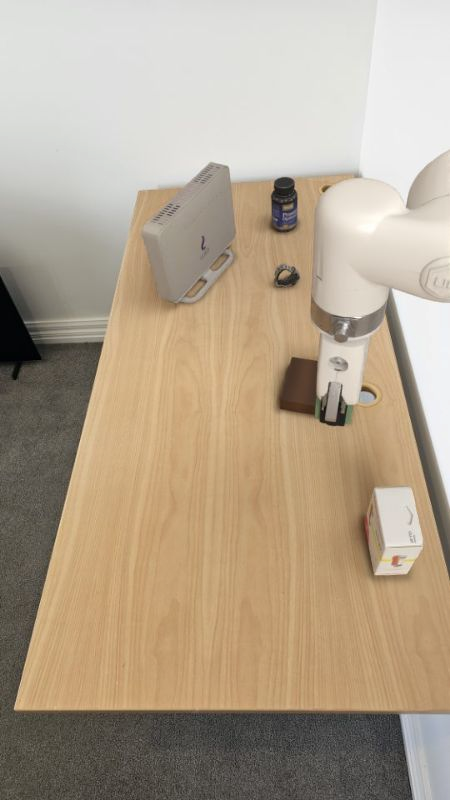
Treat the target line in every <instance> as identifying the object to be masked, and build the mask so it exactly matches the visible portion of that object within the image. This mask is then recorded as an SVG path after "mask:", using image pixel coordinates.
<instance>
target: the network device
mask: <svg viewBox="0 0 450 800" xmlns="http://www.w3.org/2000/svg"><path fill="white" fill-rule="evenodd" d="M230 170H231V169H230V167H229V166H228V165H226V164H221V163H217V162H214V161H213V162H212V161H210V162H209V163H208V164H206V165H205V167H203V168H202V169H201V170H200V171H199V172H198V173H197V174H196V175H195V176H194V177H193V178H192V179H191V180H189V182H188V183H186V184H185V185H184V186H183V187H182V188H181V189H180V190H179V191H178V192H177V193H176V194H175V195H173V196H172V198H171V199H170V200H169V201H167V202H166V204H165V205H163V206H162V207H161V208H160V209H159V210H158V211H157V212H156V213H155V214H154V215H153V216H152V217H150V219H149V220H148V221H147V222H146V223H144V225H143V226H142V229H141V237H142V240H143V244H144V247H145V251H146V255H147V258H148V261H149V265H150V268H151V272H152V275H153V281H154V282H155V283H154V284H155V287H156V290H157V294H158V297H159V298H160V299H162V300H165V301H168V302H170V303H173V304H178V303H180V302H181V303H184V304H192V303H195V302H198V301H200V299H201V298H202V297H203V296H204V295H205V294H206V293H207V291H208V290H209V289H210V288H211V287H212V286H213V285H214V283H215V282H216V281H217V280H218V279H219V277H221V275H222V274H223V273H224V272H225V271H226V269H227V268H228V267H229V266H230V265H231V263H233V261H234V253H233V251H231V250H230V249H228V247H229V246H230V245H231V244H232V243H233V241H234V240H235V238H236V234H237V230H236V220H235V219H236V218H235V213H234V212H235V209H234V200H233V189H232V181H231V172H230ZM221 255H226V256H228V258H227V259H226V260H225V261H224V263H223V264H221V266H220V267H219V268H218V269H216V270H212V269H211V267H212V265H213V264H214V263H215V262H216V261H217V260H218V259H219V258H220V256H221ZM199 280H203V281H205V282H206V283H205V284H204V285H203V287H202V288H201V289H200V290H199V291H198V292H197V294H195V295H194V296H192V297H189V296H186V295H187V293H189V291H190V290H191V289H192V288H193V287H194V286H195V285H196V283H198V282H199Z"/></svg>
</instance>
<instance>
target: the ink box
mask: <svg viewBox="0 0 450 800" xmlns="http://www.w3.org/2000/svg"><path fill="white" fill-rule="evenodd" d="M363 522H364V528H365V533H366V534H365V535H366V539H367V545H368V550H369V555H370V561H371V566H372V571H373V575H374V576H397V575H398V576H399V575H408V573H409V571H410V570H411V568H412V566H413V565H414V563H415V561H416V560H417V558H418V556H419V555H420V553H421V552H422V550H423V548H424V537H423V534H422V533H423V532H422V528H421V525H420V521H419V514H418V511H417V506H416V501H415V496H414V492H413V489H412V488H411V487H410V486H409V485H393V486H392V485H390V486H376V487H375V486H374V488H373V490H372V493H371V498H370V501H369V505H368V507H367V512H366V515H365V518H364V520H363Z"/></svg>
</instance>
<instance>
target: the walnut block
mask: <svg viewBox="0 0 450 800" xmlns="http://www.w3.org/2000/svg"><path fill="white" fill-rule="evenodd" d="M317 365H318V359H316V360H315V359H310V358H305V357H304V358H302V357H297V356H291V358H290V362H289V365H288V368H287V372H286V376H285V379H284V382H283V386H282V389H281V393H280V397H279V409H280V410H283V411H289V412H295V413H301V414H308V415H312V416H315V409H316V397H317Z"/></svg>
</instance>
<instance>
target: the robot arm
mask: <svg viewBox="0 0 450 800" xmlns="http://www.w3.org/2000/svg"><path fill="white" fill-rule="evenodd" d="M407 194H408V195H407V198H406V204H405V201H404V199H403V197H402V195H401V194H400V192H399V191H398V190H397V188H395V187H394V186H393V185H391V184H389V183H387V182H385V181H383V180H380V179H377V178H373V177H371V178H370V177H352V178H348V179H344V180H340V181H339V182H336V183H335V184H331V185H330V186H329V187H327V189H325V191H324V192H323V193H322V194H321V195H320V197H319V199H318V200H317V203H316V205H315V210H314V219H313V243H312V268H311V269H312V270H311V288H310V289H311V290H310V309H309V311H310V312H309V315H310V317H309V318H310V322H311V324H312V325H313V327H314V328H315V329H316V330H317V331H318V333H319V337H318V351H317V361H318V365H317V396H318V398H319V399H320V400H321V398H323V402H321V407H320V419H318V420H319V423H320V424H325V425H327V426H330V427H345V425H346V423H345V420H346V413H347V407H348V406H346V404H348V405H353V406H356V405H357V404H358V403H359V401H360V398H361V392H362V386H363V381H364V377H365V371H366V365H367V360H368V355H369V350H370V345H371V338H372V336H373V335H374V334H376V333H377V332H378V331H379V329H380V328H381V327H382V325H383V323H384V318H385V314H386V310H387V305H388V301H389V294H390V290H391V289H393V290H396V291H399V292H402V293H405V294H408V295H411V296H414V297H417V298H420V299H422V300H427V301H431V302H436V303H443V304H450V149H448V150H446V151H445V152H443V153H441V154H439V155H438V156H436V157H435V158H434V159H433V160H431V161H430V162H429V163H427V165H425V166H424V167H423V168H422V169H421V170H419V172H418V173H417V175H416V176H415V178H414V180H413V181H412V183H411V185H410V187H409V190H408V193H407ZM339 398H342V403H341V402H339ZM327 401H328V402H327Z"/></svg>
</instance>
